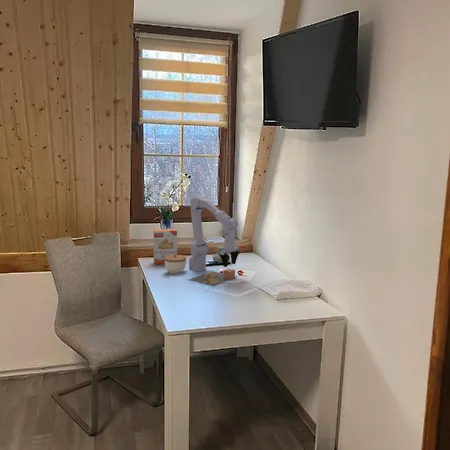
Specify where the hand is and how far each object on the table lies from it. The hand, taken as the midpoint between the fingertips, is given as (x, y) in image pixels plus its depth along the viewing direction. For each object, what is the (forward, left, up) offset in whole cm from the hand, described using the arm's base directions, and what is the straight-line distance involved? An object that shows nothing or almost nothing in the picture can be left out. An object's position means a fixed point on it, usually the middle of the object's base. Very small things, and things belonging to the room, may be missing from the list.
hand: (229, 265), depth 263 cm
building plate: (-7, -6, -8) cm, 12 cm away
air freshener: (-26, +27, -8) cm, 38 cm away
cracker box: (-52, +4, -8) cm, 52 cm away
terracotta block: (0, 0, -7) cm, 7 cm away
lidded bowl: (-33, -8, -8) cm, 35 cm away
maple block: (-3, -12, -7) cm, 14 cm away
